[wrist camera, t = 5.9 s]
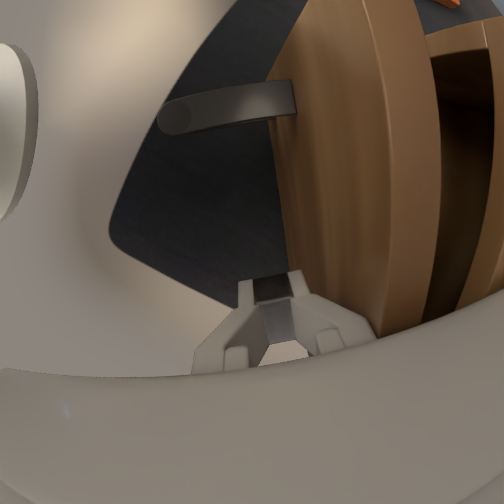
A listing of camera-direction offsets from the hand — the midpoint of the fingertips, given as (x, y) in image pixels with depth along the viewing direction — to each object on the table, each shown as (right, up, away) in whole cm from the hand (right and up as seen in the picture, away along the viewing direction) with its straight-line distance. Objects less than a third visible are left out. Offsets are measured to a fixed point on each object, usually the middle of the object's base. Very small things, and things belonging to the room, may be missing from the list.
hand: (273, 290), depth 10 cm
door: (0, +6, +16) cm, 18 cm away
